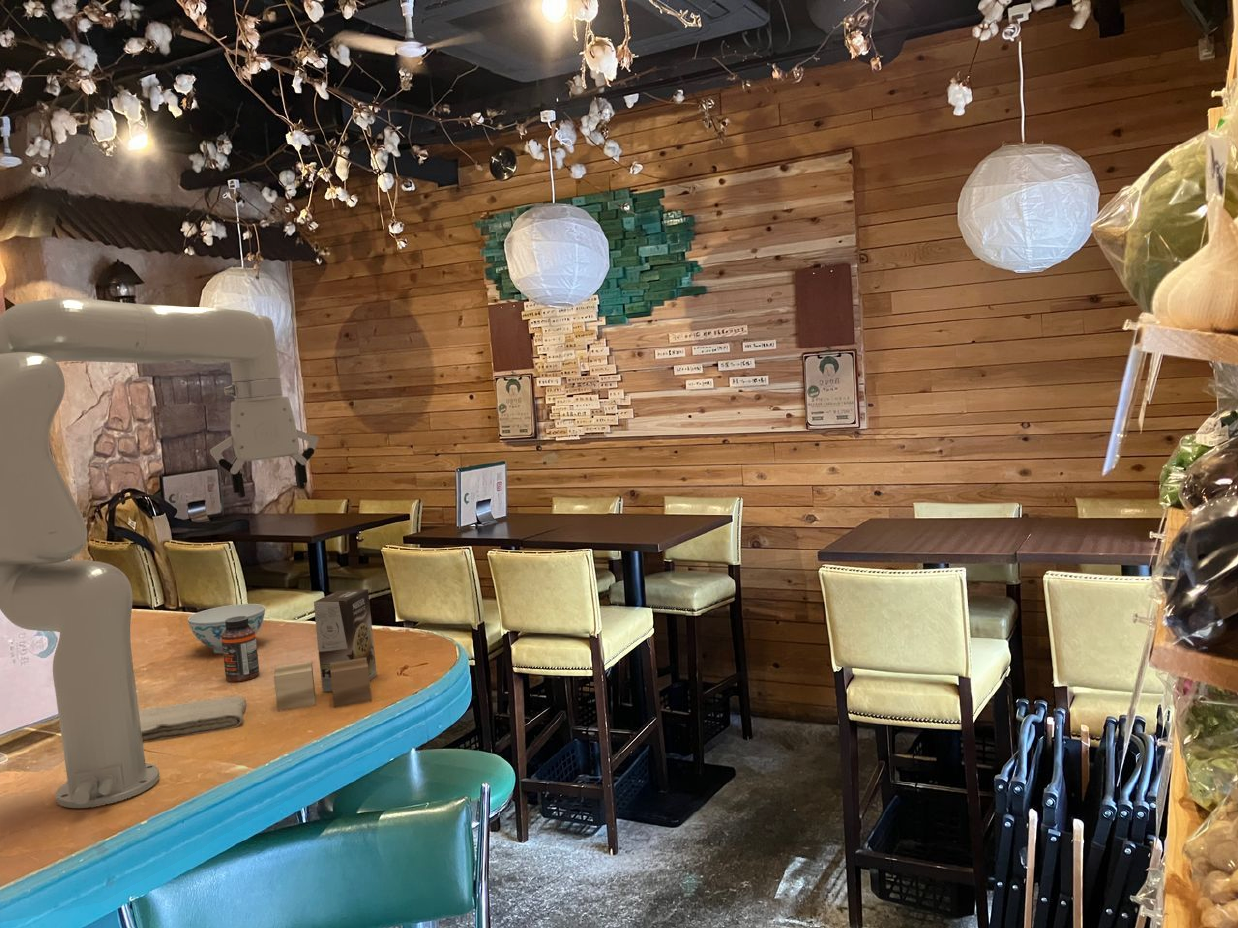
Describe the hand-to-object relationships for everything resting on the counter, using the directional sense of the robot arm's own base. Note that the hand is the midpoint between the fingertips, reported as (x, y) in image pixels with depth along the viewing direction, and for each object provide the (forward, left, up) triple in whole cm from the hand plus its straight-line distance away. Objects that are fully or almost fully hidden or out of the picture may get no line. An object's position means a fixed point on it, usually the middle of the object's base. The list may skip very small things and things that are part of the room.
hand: (271, 492), depth 165 cm
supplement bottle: (+18, +10, -36) cm, 41 cm away
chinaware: (+42, +14, -36) cm, 57 cm away
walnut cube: (-6, -9, -36) cm, 37 cm away
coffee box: (+3, -9, -36) cm, 37 cm away
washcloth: (-5, +17, -36) cm, 40 cm away
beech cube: (-3, 0, -36) cm, 36 cm away
